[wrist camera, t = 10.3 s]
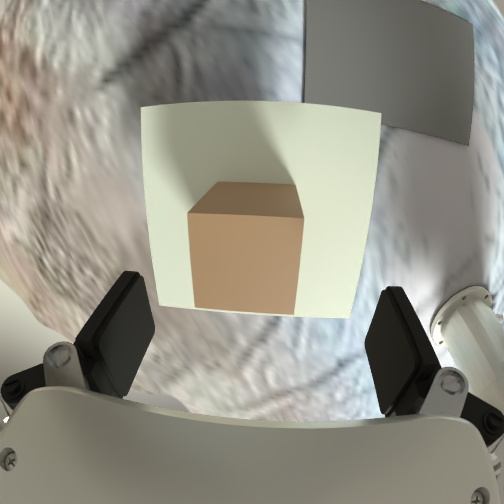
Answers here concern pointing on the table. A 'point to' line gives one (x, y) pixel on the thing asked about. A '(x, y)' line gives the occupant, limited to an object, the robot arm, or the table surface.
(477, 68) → the table surface
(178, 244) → the lid
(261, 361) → the table surface
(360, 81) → the mat
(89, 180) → the table surface
